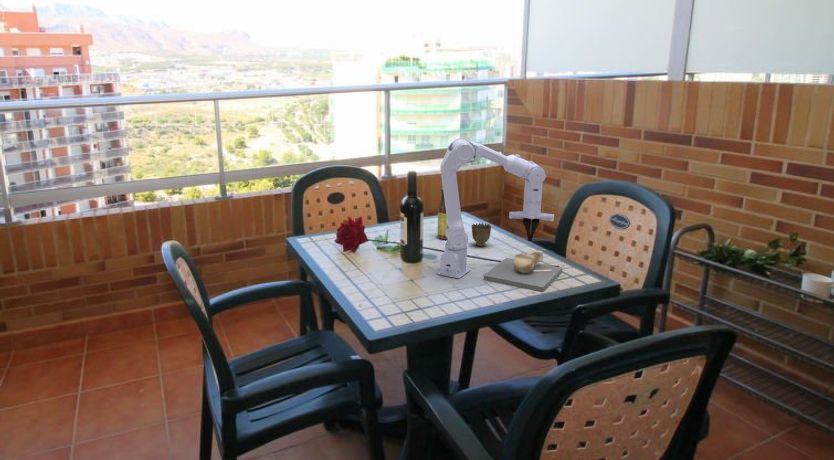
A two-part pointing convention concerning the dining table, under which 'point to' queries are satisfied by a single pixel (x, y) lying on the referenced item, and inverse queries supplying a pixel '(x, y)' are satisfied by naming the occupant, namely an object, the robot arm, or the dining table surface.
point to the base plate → (523, 275)
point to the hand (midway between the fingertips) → (529, 240)
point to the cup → (481, 233)
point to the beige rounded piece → (527, 261)
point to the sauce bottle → (442, 218)
